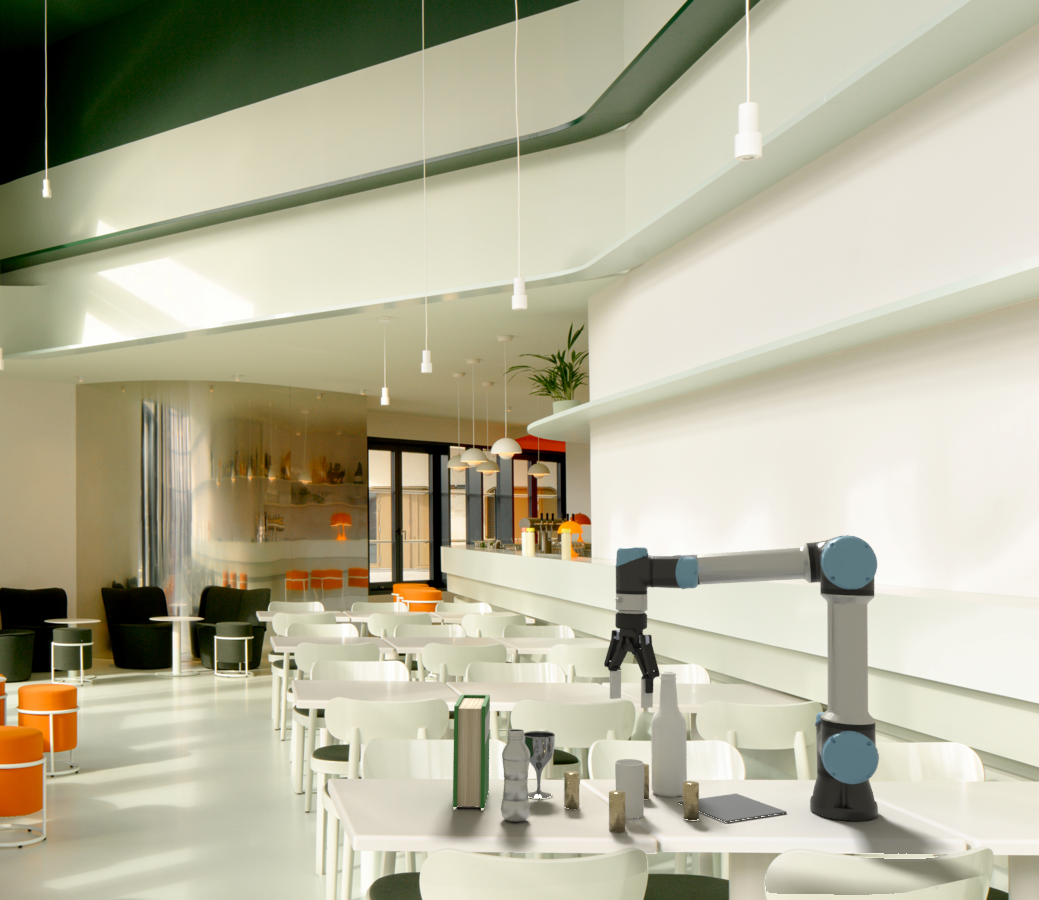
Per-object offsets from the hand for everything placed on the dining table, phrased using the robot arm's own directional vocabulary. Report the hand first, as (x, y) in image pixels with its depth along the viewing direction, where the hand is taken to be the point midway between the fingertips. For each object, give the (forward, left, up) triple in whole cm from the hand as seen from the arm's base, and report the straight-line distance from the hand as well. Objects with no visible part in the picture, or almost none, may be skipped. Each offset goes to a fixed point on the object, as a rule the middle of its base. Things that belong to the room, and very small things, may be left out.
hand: (630, 702), depth 224 cm
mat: (-7, -24, -25) cm, 35 cm away
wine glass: (+23, +12, -25) cm, 36 cm away
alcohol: (+11, -19, -25) cm, 33 cm away
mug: (0, 0, -25) cm, 25 cm away
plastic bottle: (+6, +27, -25) cm, 38 cm away
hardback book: (+26, +29, -25) cm, 47 cm away
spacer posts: (0, 0, -25) cm, 25 cm away
